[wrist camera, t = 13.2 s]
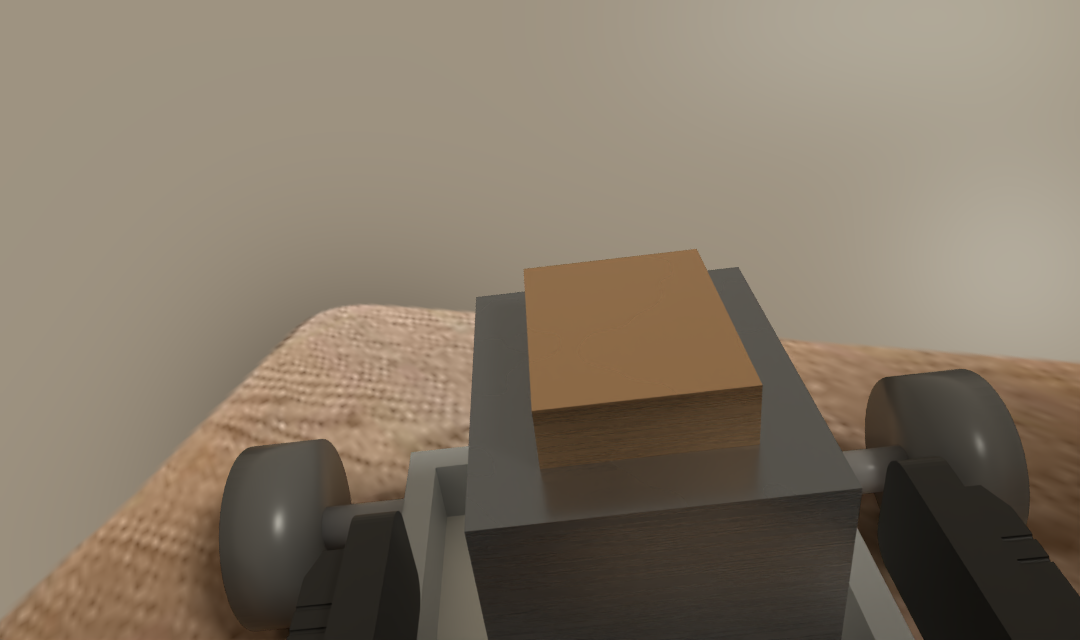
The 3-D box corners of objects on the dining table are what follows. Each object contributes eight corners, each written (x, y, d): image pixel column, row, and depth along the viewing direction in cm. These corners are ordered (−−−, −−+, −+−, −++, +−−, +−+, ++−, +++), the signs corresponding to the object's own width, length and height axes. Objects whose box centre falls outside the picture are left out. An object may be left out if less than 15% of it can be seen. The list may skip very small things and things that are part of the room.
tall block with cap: (729, 614, 20) (739, 218, 14) (807, 877, 15) (871, 425, 9) (534, 634, 20) (468, 249, 15) (545, 903, 15) (451, 471, 9)
